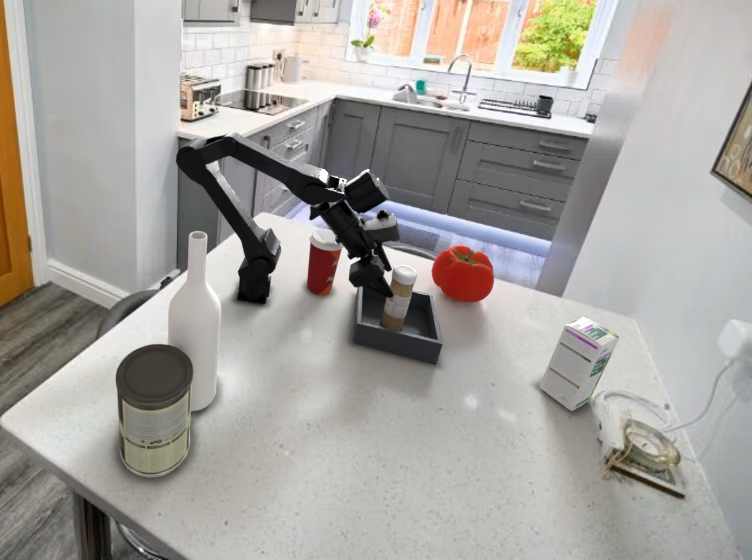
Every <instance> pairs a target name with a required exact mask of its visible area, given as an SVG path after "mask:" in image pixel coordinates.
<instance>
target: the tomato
mask: <svg viewBox="0 0 752 560" xmlns="http://www.w3.org/2000/svg"><path fill="white" fill-rule="evenodd" d="M474 250H475V249H472V248H471V247H469V246H466V245H462V244H459V245H453V246H451V247H448V248H447V249H445V250H443V251H441V252H440V253H438V254H437V256H436V257H435V259H434V261H433V264H432V267H431V278H432V281H433V283H434V284H435V285H436V286H437V287H438V288H439V289H440V290H441V292H442V294H443V295H444V296H446V297H447V298H448V299H450V300H453V301H455V302H466V303H476V302H477V303H478V302H480V301H483V300H484V299H486V298H487V297H488V296H489V295H490V294H491V292H492V290H493V289H494V283H495V274H494V266H493V264H492V263H491V261H490V259H489V256H488V255H487V254H485V253H484V252H483V251H479V250H478V251H474Z"/></svg>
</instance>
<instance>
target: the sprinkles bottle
mask: <svg viewBox="0 0 752 560" xmlns="http://www.w3.org/2000/svg"><path fill="white" fill-rule="evenodd" d="M417 278H418V272H417V270H416V269H415V268H413V267H412V266H409V265H408V264H395V265H394V266H393V268H392V271H391V281H390V284H389V285H390V288H391V290H392V292H393V294H394V296H393V297H391V298H388V297H387V299H386V303H385V307H384V312H383V316H382V318H381V322H382V324H383V325H384V326H385V327H386V328H388V329H393V330H397V331H398V330H401V329H402V328H403V322H404V319H405V316H406V313H407V309H408V306H409V302H410V299H411V295H412V290H414V286H415V284H416V281H417Z"/></svg>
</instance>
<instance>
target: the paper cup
mask: <svg viewBox="0 0 752 560" xmlns="http://www.w3.org/2000/svg"><path fill="white" fill-rule="evenodd" d="M308 240H309V242H310V243H309V254H308V266H307V276H306V289H307V290H308V291H309V292H310V293H311V294H313V295H315V296H319V297H320V296H321V297H323V296H327V295H329V294H330V293H331V291H332V288H333V284H334V280H335V277H336V273H337V269H338V265H339V261H340V257H341V254H342V250H343V248H345V247H344V246H343V245H342V243H339V244H337V243H336V241H335V234H334V233H333V232H332V231H331V229H330V228H329V229H328V228H320V229H319V228H318V229H316V230H313V232H312V233H311V234H310V236H309V239H308Z"/></svg>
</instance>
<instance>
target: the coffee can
mask: <svg viewBox="0 0 752 560" xmlns="http://www.w3.org/2000/svg"><path fill="white" fill-rule="evenodd" d="M192 380H193V365H192V362H191V360H190V358H189V357H188V356H187V355H186V354H185V353H184V352H183V351H182V350H180V349H178V348H176V347H174V346H171V345H168V344H166V343H154V344H147V345H144V346H140V347H138V348H136V349H134V350H132V351H131V352H130V353H127V355H126V356H125V357H124V358H122V360H121V362H120V363H119V365H118V366H117V369H116V372H115V387H116V395H117V414H118V416H117V417H118V436H119V454H120V459H121V461H122V463H123V465H124V466H125V468H126V469H127V470H128V471H130V472H131V473H133V474H134V475H136V476H139V477H142V478H147V479H153V478H160V477H163V476H166V475H168V474H170V473H172V472H173V471H175V470H176V469H177V468H179V467H180V465H181V464H182V463H183V462H184V460H185V459H186V457H187V455H188V454H189V450H190V446H191V415H192V414H191V413H192V411H191V391H192Z"/></svg>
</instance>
